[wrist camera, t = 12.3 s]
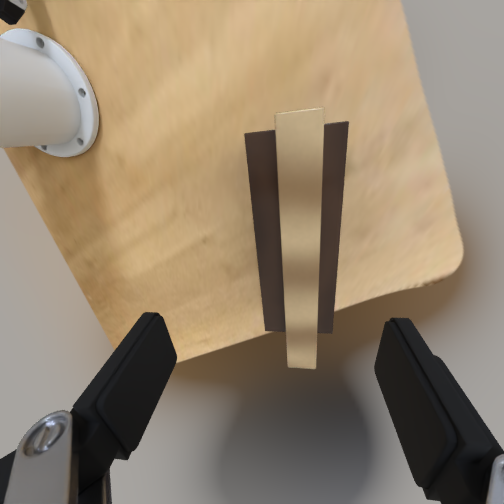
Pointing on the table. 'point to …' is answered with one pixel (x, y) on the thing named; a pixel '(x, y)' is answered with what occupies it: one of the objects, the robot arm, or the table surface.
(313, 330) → the stick
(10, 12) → the multicoloured piece
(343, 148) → the dark brown channel bracket
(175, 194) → the table surface
